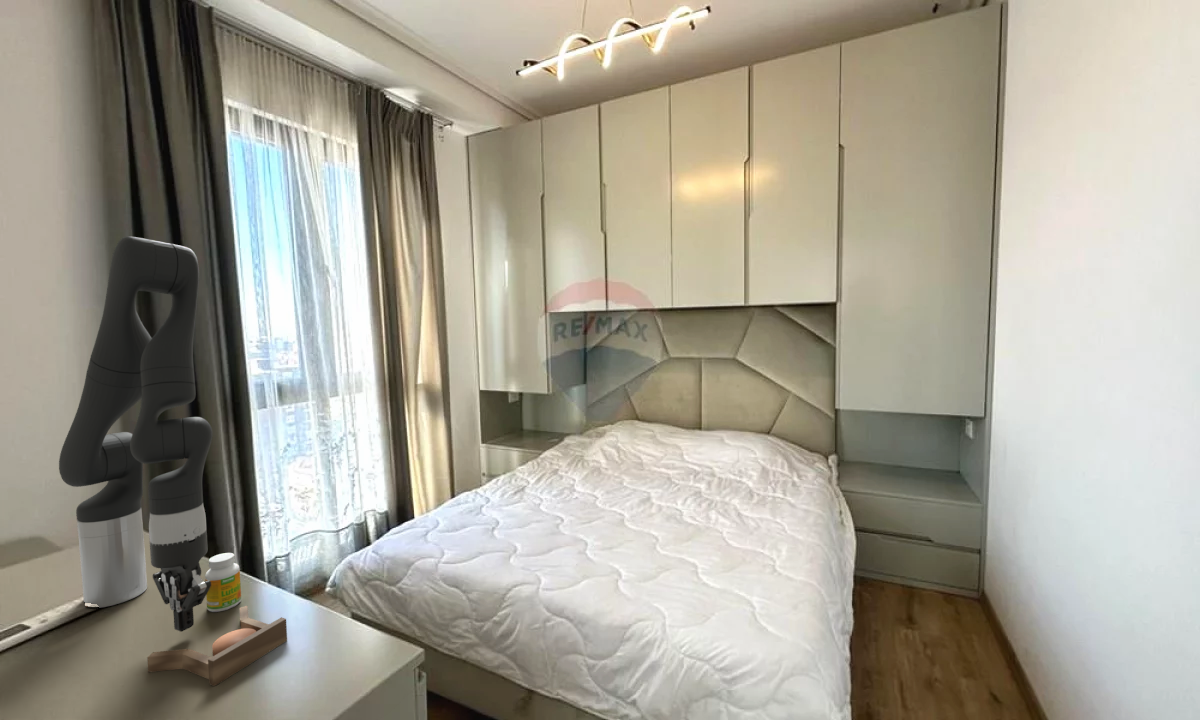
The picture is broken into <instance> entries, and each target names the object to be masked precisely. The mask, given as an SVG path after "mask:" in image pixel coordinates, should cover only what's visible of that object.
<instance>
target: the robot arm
mask: <svg viewBox="0 0 1200 720" xmlns="http://www.w3.org/2000/svg"><path fill="white" fill-rule="evenodd" d="M199 267H200V266H199V261H198V257H197V255H196V254H195V251H193V250H192V249H191V248H190V247H187V246H183V245H178V244H174V243H169V242H164V241H159V240H154V239H149V238H143V237H139V236H138V237H136V236H131V235H129V236H124V237H122V238H121V239H120V240H118V242H117V244H116V245H115V247H114V250H113V253H112V258H111V261H110V268H109V273H108V274H109V275H108V280H107V287H106V295H105V300H104V306H103V312H102V317H101V320H100V324H99V328H98V331H97V335H96V338H95V341H94V345H93V348H92V352H91V354H90V358H89V361H88V366H87V369H86V374H85V379H84V384H83V388H82V392H81V396H80V399H79V403H78V407H77V409H76V412H75V415H74V418H73V419H72V423H71V426H70V428H69V431H68V433H67V435H66V437H65V440H64V443H63V444H62V445H63V446H62V447H61V450H60V454H59V459H58V470H59V475H60V478H61V479H62V480H63V482H64V483H65V484H66V485H68V486H70V487H74V488H75V487H76V488H78V487H88V486H92V485H96V484H100V483H105V482H107V483H106V485H105V486H104V487H103V488H102V489H101V490H100V491H98V492H97V493H95V494H93V496H90V497H88V498H86V499H85V500H84V501H82V502H80V503H79V504H78V506H77V507H76V511H75V513H76V524H77V534H78V536H77V537H78V547H79V559H80V573H81V583H82V585H81V587H82V596H83V603H84V602H85V603H91V604H97V605H98V606H99V608H101V609H102V608H106V607H110V606H115V605H117V604H122V603H124V602H127V601H129V600H132V599H134V598H136V597H138V596H141V594H143V593H144V592H145V591H146V590H147V588H148V580H147V564H146V562H147V561H146V550H145V539H144V538H145V537H144V524H143V512H142V498H143V495H144V481H143V480H144V471H143V470H144V464H146V465H148V464H155V463H156V464H157V463H162V462H163V463H164V462H170V461H178V460H184V459H185V460H186V459H187V460H186V461H185V462H184V464H183V465H182V466H180V467H178V468H177V469H174V470H172V471H171V470H170V471H168V472H166V473H162V474H160V475H157V476H155V477H153V478H151V480H150V481H149V483H148V487H147V490H148V492H147V493H148V505H149V506H148V507H149V508H148V509H149V519H148V521H149V522H148V534H149V535H148V536H149V537H148V538H149V551H150V552H149V553H150V564H151V566H152V567H153V568H156V569H160V571H157V572H154V573H153V574H152V580H153V581H154V584H155V585H156V588H157V591H158V592H159V594H160V596H161V599H162V601H163V603H164V605H169V607H170V609H171V611H173V627H174V631H175V630H176V631H177V632H185V631H186V630H188V629H190V628H192V627H193V626H194V625H195V621H194V620H195V619H194V607H197V606H199V605H201V604H202V603H203V601H204V599H205V598H206V594H207V592H208V591H209V589H210V587H211V582H210V580H207V581H205V580H203V579H202V577H201V575H202V568H201V565H200V561H201V560H202V559H203V558H204V557H205V556H206V554H207V553H208V533H207V530H208V529H207V517H206V512H205V511H206V509H205V507H204V496H203V494H204V493H203V477H204V476H203V474H204V469H205V464H206V461H207V456H208V454H209V451H210V447H211V444H212V439H213V436H214V435H213V434H214V433H213V428H212V425H211V424H210V423H209V422H208V420H207V419H205V418H203V417H201V416H191V417H180V418H171V419H170V418H168V419H159V420H158V418H159V416H160V415H161V414H162V413H163V412H165V411H168V410H171V409H173V408H177V407H182V406H185V405H188V404H190V403H192V402H193V401H195V399H196V395H197V394H196V393H197V392H196V379H195V367H194V338H195V337H194V335H195V326H196V317H197V306H198V294H199V283H200V268H199ZM139 291H140V292H149V293H156V294H157V293H158V294H167V295H171V307H170V311H169V314H168V316H167V318H166V320H165V321H164V322H163V324H162V325H161V326H160V327H159V328H158V330H157V332H156V333H155V334H154V335H153V336H151V335H150V333H149V331H148V330H147V329H146V327H145V326H144V324H143V321H141V318H140V316H139V314H138V312H137V307H136V299H137V294H138V292H139ZM140 400H141V402H140V403H141V404H140V409H139V412H138V413H139V414H138V417H137V420H136V424H135V427H134V429H133V432H128V431H121V432H112V433H108V432H109V430H110V429H111V428H112V427H113V426H114V424H115V423H116V422H117V421H118V420H119V419H120V418H121V417H122V416H123V415H124V414H125V413H127V412H128V411H130V409H131V408H133V406H135V405H136V404H137V403H138V402H139V401H140Z"/></svg>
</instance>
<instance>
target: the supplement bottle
mask: <svg viewBox="0 0 1200 720" xmlns="http://www.w3.org/2000/svg"><path fill="white" fill-rule="evenodd" d="M235 558H236V557H235V554H234V553H232V552H225V553H219V554H216V555H214V556H211V557H210V558H209V560H208V567H209V569H208V570H207V571H206V573H205V575H204V582H205V581H207V580H210V582H211V587H210V589H209V591H208V592H207V594H206V596H205V598H206V609H207V610H208V611H209V612H211V613H217V612H218V613H219V612H224V611H227V610H230V609H232V608H234V607H236V606H237V605H238V604H239V603H241V601H242V591H241V590H242V587H241V571H240V570H241V569H240V565H239V563H235V561H236V560H235Z"/></svg>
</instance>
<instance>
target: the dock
mask: <svg viewBox="0 0 1200 720" xmlns="http://www.w3.org/2000/svg"><path fill="white" fill-rule="evenodd" d="M248 608H249V607H248V605H245V606H241V607H239V620H240V621H239V622H240V629H245V628H250V629H254V630H256V632H255V633H253V634H251V635H250V636H248V637H246V638H244V639H243V640H241V641H239V642H237V643H236V644H234V645H232V646H230V647H229V648H227V649H225V650H223V651H222V652H220V653H218V654H216V655H215V656H213V655H212V656H208V655H207V654H204V653H201V652H198V651H196V650H193V649H191V648H183V649H182V648H181V649H174V650H173V649H172V650H163V651H153V652H152V653H150V654H149V655H148V656H147V657H146V658H147V670H148V673H153V672H154V673H155V672H161V671H173V670H185V671H187V672H190V673H192V674H195V675H198V676H199V677H202V678H204V679H207V680H208V683H209V685H211V686H213V687H215V686H217V685H219V684H220V683H223V682H224V681H225V680H227V679H229V678H230V677H231V676H233V675H235V674H236V673H238V672H240V671H241V670H242V669H243V670H244V668H246V667H248V666H249V665H251V664H252V663H254V662H255V661H257V660H260V658H262V657H264V656H265V655H268V654H269V653H270V652H272V651H273V650H275V649H276V648H278V647H279V646H282V645H283V644H285V643H286V642H288V632H287V631H288V629H287V618H285V617H279V618H278V619H276V620H274V621H273V622H271V623H269V624H268V623H266V622H262V621H260V620H256V619H254V618H250V617H249V609H248Z"/></svg>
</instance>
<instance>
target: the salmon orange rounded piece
mask: <svg viewBox="0 0 1200 720" xmlns="http://www.w3.org/2000/svg"><path fill="white" fill-rule="evenodd" d="M255 632H256V630H254V629H250V628H245V629H241V628H239V629H235V630H232V631H229V632H226V633H225V634H223V635H221V636H219V637H218V638H217V639H216V640H215V641H213V643H212V645H211V646H212V647H211V648H212V657H213V656H215V655H216V654H218V653H220V652H222V651H223V650H225V649H227V648H229V647H230V646H232V645H234V644H236V643H237V642H239V641H241V640H243V639H244V638H246V637H248V636H250V635H251V634H253V633H255Z"/></svg>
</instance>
